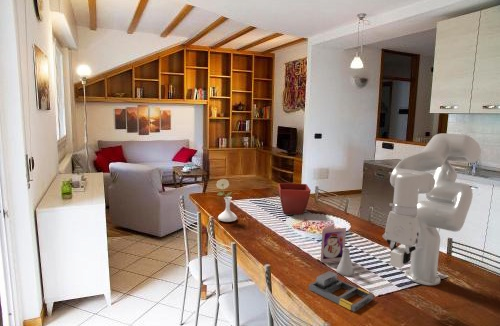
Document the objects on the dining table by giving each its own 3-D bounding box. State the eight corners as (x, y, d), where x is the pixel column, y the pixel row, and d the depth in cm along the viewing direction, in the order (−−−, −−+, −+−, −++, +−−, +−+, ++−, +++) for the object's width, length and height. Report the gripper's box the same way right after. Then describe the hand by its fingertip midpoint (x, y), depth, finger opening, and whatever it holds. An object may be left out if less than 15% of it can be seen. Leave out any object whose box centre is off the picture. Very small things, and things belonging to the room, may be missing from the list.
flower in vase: (238, 218, 211) (239, 177, 208) (235, 224, 200) (236, 181, 196) (217, 216, 213) (217, 176, 209) (213, 222, 201) (213, 180, 198)
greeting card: (321, 263, 151) (323, 230, 149) (313, 256, 158) (315, 224, 156) (344, 260, 154) (347, 228, 152) (336, 254, 162) (338, 223, 159)
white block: (400, 256, 125) (401, 243, 124) (410, 260, 123) (411, 247, 122) (390, 264, 120) (390, 251, 119) (400, 268, 117) (401, 254, 116)
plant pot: (309, 216, 219) (311, 190, 216) (279, 215, 219) (280, 189, 216) (305, 208, 238) (306, 183, 235) (277, 207, 238) (278, 183, 235)
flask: (340, 266, 149) (342, 244, 147) (356, 271, 144) (358, 248, 143) (332, 272, 143) (334, 249, 142) (349, 278, 139) (351, 254, 137)
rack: (328, 279, 137) (328, 267, 136) (372, 299, 123) (374, 286, 122) (308, 289, 129) (309, 276, 128) (354, 312, 115) (355, 298, 114)
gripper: (376, 206, 121) (372, 256, 124) (425, 217, 109) (419, 272, 112) (386, 202, 126) (382, 250, 129) (434, 213, 114) (429, 266, 117)
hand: (399, 260), depth 121 cm, fingers closed on white block, 3 cm apart
